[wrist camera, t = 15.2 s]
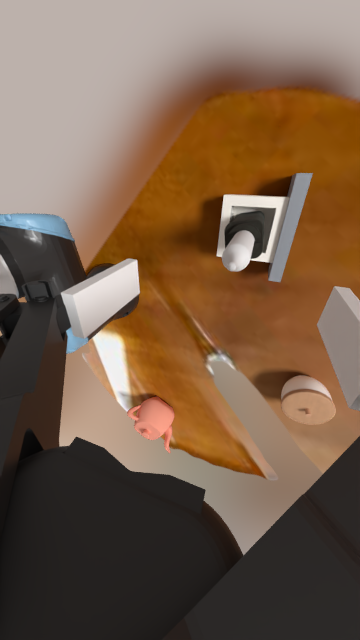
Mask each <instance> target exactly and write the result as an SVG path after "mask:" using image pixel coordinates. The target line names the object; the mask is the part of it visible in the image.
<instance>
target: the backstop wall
mask: <svg viewBox="0 0 360 640" xmlns="http://www.w3.org/2000/svg"><path fill="white" fill-rule="evenodd" d="M312 174H313V173H296V174H294V175H293V176H292V180H291V183H290V187H289V191H288V195H287V197H290V199H289V202H288V206H287V210H286V214H285V218H284V221H283V225H282V229H281V233H280V237H279V240H278V244H277V248H276V252H275V256H274V259H273V263H270V265H269V269H268V280H269V281H276V282H280V281H281V278H282V274H283V271H284V268H285V264H286V261H287V258H288V254H289V251H290V248H291V244H292V241H293V238H294V234H295V231H296V227H297V224H298V221H299V217H300V214H301V211H302V207H303V204H304V201H305V197H306V194H307V191H308V187H309V184H310V180H311V177H312Z"/></svg>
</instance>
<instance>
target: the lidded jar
mask: <svg viewBox="0 0 360 640" xmlns="http://www.w3.org/2000/svg"><path fill="white" fill-rule="evenodd" d="M281 408H282V411H283V412H284V414H285V415H286V416H288V417H289V418H290V419H292V420H294V421H296V422H299V423H303V424H310V425H315V424H322V423H325V422H327V421H329V420H331V419H332V418H333V416H334V415H335V412H336V409H335V405H334V403H333V401H332V398H331V396H330V394H329V392H328V390H327V389H326V387H325V386H324V385H323V384H322V383H321V382H319V381H318V380H316V379H314V378H311V377H309V376H305V375H298V376H295V377H293V378H291V379H290V380H288V381H287V382H286V383H285V385H284V386H283V389H282V393H281Z"/></svg>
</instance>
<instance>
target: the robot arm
mask: <svg viewBox="0 0 360 640" xmlns="http://www.w3.org/2000/svg"><path fill="white" fill-rule="evenodd" d="M74 242H75V240H74V239H73V238H72V235H71V233H70V230H69V228H68V226H67V223H66V222H65V221H64V220H63V219H62V218H60V217H59V216H56V215H50V214H0V331H1V333H2V336H1V337H0V640H360V436H359V437H358V438H357V439H356V440H355V441H354V443H353V444H352V445H351V446H350V447H349V448H348V449H347V450H346V451H345V452H344V453H343V454H342V455H341V456H340V457H339V458H338V459H337V460H336V461H335V462H334V463H333V464H332V466H331V467H330V468H329V469H328V470H327V471H326V472H325V473H324V474H323V475H322V476H321V477H320V478H319V479H318V480H317V481H316V482H315V483H314V484H313V485H312V486H311V488H310V489H309V490H308V491H307V492H306V493H305V494H303V495H302V496H301V497H300V498H299V499H298V500H297V501H296V502H295V503H294V504H293V505H292V506H291V507H290V508H289V509H288V510H287V511H286V512H285V513H284V514H283V515H282V516H281V517H280V518H279V519H278V520H277V521H276V522H275V524H274V525H273V526H272V527H271V528H270V529H269V530H268V531H267V532H266V533H265V534H264V535H263V536H262V537H261V538H260V539H259V540H258V541H257V542H256V543H255V544H254V545H253V546H252V547H251V548H250V550H249V551H248V552H247V553H246V554H245V555H244V556H243V554H242V552H241V549H240V547H239V546H238V543H237V541H236V540H235V538H234V536H233V534H232V533H231V531H230V530H229V528H228V526H227V525H226V524H225V522H224V521H223V520H222V518H221V517H220V516H219V515H218V514H217V513H216V511H214V509H213V508H212V507H211V506H209V505H208V504H207V503H206V502H205V501H203V500H204V494H205V489H202V488H200V487H197V486H195V485H193V484H190V483H188V482H185V481H183V480H180V479H178V478H176V477H173V476H171V475H164V474H153V473H142V472H132V471H130V470H128V469H127V468H126V467H125V466H124V465H122V464H121V463H120V462H119V461H118V460H117V459H116V458H115V457H113V456H112V455H111V454H110V453H109V452H108V451H107V450H106V449H105V448H103V447H100V446H98V445H95V444H93V443H91V442H88V441H86V440H83V439H81V438H78V437H76V438H75V439H74V441H73V442H72V443H71V444H70V446H62V447H59V432H60V431H59V430H60V419H61V409H62V397H63V385H64V374H65V362H66V354H68V353H72V352H74V351H76V350H77V349H79V348H80V347H82V346H83V345H85V344H86V343H87V342H88V341H89V340H90V339H91V338H92V337H93V336H95V335H96V334H97V333H98V332H99V331H100V330H102V329H103V328H104V327H105V326H106V325H107V324H108V323H110V322H111V321H113V320H116V319H119V318H122V317H125V316H127V315H129V314H130V313H131V312H132V311H133V310H134V309H135V308H136V307H137V304H138V301H139V293H140V290H139V278H138V265H137V260H135V259H126V260H124V261H122V262H120V263H118V264H116V265H114V264H101V265H99V266H97V267H95V268H93V269H92V270H91V271H90V272H89V274H88V275H87V276H86V274H85V271H84V268H83V266H82V263H81V260H80V257H79V254H78V251H77V248H76V246H75V243H74ZM21 297H25V299H26V301H27V303H25V302H19V301H18V299H19V298H21ZM317 326H318V329H319V331H320V334H321V337H322V339H323V342H324V344H325V347H326V350H327V352H328V355H329V357H330V360H331V363H332V365H333V368H334V370H335V373H336V376H337V378H338V381H339V383H340V386H341V389H342V391H343V394H344V396H345V399H346V401H347V404H348V407H349V408H350V409H354V410H358V411H360V300H359V299H358V298H357V297H356V296H355V295H354V293H353V292H352V291H351V290H350V289H349V288H344V287H336V286H334V288H333V290H332V292H331V295H330V297H329V299H328V301H327V304H326V306H325V308H324V310H323V312H322V315H321V317H320V319H319V321H318V324H317Z"/></svg>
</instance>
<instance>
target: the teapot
mask: <svg viewBox="0 0 360 640" xmlns="http://www.w3.org/2000/svg"><path fill="white" fill-rule="evenodd" d="M137 409H138V411H137V414H136V416H134V415H133V412H134V411H136V410H137ZM127 414H128V416H129V417H130V418H132V419H134V420H135V425H134V426H135V427H134V428H135V430H136V431H137V432H139V433H140V434H141V435H142V436H143V437H145V438H147V439H149V440H154V439H157V438H159V437H160V436H161V435H162V434H163V433H165V443H164V445H165V449H166V450H167V451H168V452H169V453H170V449H169V441H170V438H171V435H172V426H171V423H172V422H173V419H174V411H173V408H172V407H171V406H169V405H168V404H166V403H165V402H164V401H162V400H161V399H160V398H159V397H158V396H155V397H152V398H149V399H147V400H145V401H144V402H143V403H142V404H141V405H139V406H135V407H133V408H131V409H130V410H129V411H128V412H127Z"/></svg>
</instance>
